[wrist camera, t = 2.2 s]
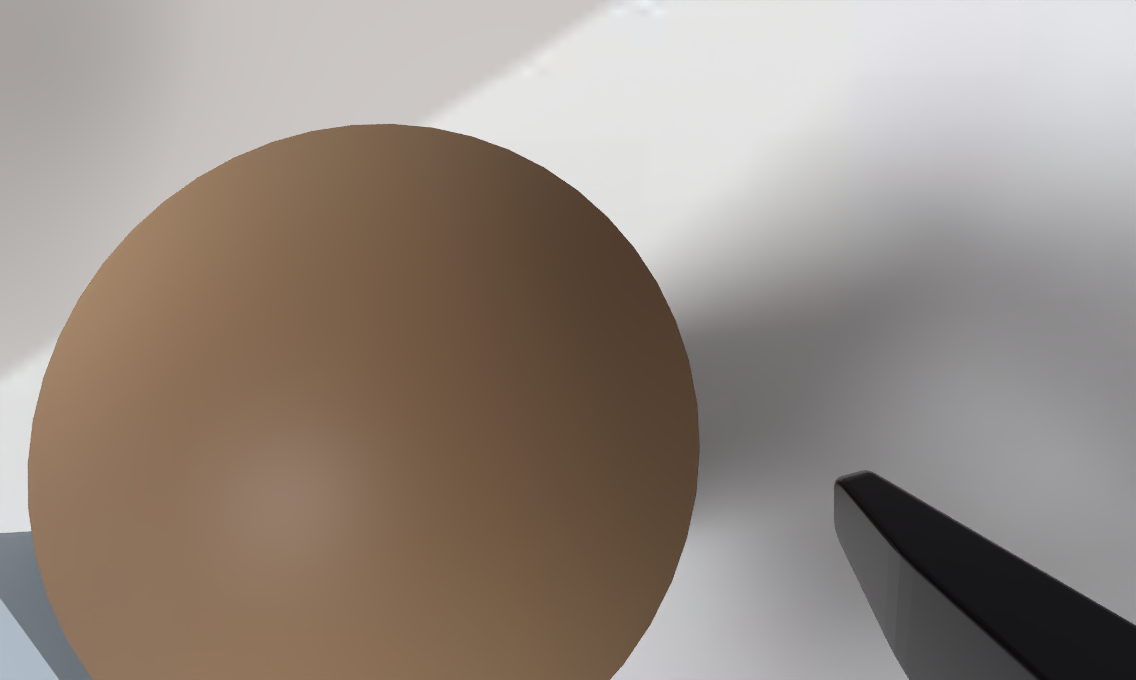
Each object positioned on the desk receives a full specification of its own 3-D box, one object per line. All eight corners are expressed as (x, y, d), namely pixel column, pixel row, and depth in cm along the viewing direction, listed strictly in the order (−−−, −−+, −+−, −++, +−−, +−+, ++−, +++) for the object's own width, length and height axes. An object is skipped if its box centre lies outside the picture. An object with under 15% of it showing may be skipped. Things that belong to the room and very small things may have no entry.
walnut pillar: (657, 484, 19) (842, 453, 6) (508, 626, 19) (310, 976, 5) (524, 341, 20) (402, 9, 6) (378, 472, 20) (-102, 415, 6)
